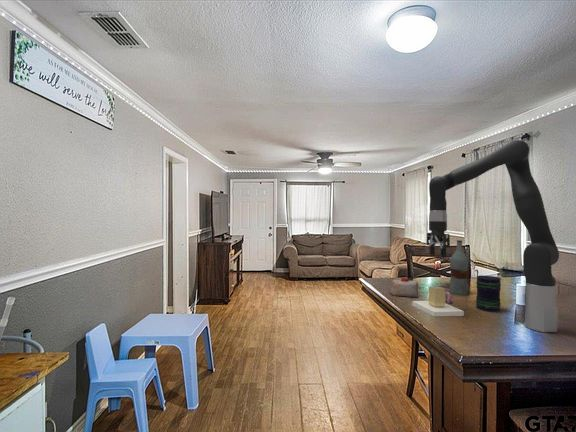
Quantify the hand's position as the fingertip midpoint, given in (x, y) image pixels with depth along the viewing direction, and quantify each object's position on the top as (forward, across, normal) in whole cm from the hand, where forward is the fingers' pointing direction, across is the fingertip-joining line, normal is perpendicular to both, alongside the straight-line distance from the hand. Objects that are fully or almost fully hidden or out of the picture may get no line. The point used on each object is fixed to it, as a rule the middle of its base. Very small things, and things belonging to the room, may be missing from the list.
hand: (437, 255), depth 152 cm
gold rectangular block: (+22, 0, 0) cm, 22 cm away
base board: (+25, 0, 0) cm, 25 cm away
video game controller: (+25, +15, -12) cm, 32 cm away
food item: (+25, +28, +1) cm, 38 cm away
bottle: (+25, +31, -33) cm, 52 cm away
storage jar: (+25, 0, -26) cm, 36 cm away
